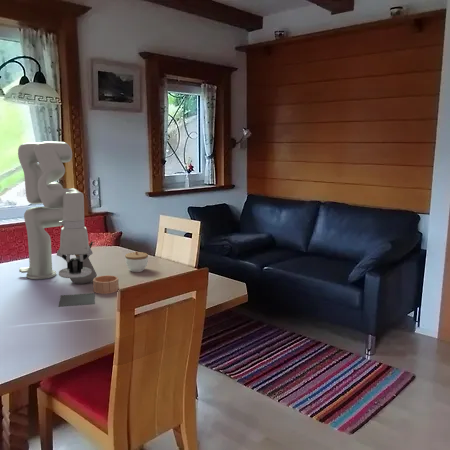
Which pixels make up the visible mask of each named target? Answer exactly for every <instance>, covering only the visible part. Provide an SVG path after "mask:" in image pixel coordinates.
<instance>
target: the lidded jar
mask: <svg viewBox="0 0 450 450" xmlns="http://www.w3.org/2000/svg"><path fill="white" fill-rule="evenodd" d="M124 259H125V264H126V266H127V267H126V268H127V269H129V271H130V272H132V273H133V272H134V273H139V272H143V271H144V270H145V268H146V267H147V266H148V263H149V262H148V260H149V254H148V253H146V252H142V251H141V252H140V251H137V250H135V252H128V253H126V254H125V258H124Z"/></svg>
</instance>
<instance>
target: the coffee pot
mask: <svg viewBox="0 0 450 450" xmlns="http://www.w3.org/2000/svg"><path fill="white" fill-rule="evenodd" d="M94 245H96V243H95V242H94V241H91V242H89V247H90V249H91V248H92V246H94ZM91 250H92V249H91ZM83 255H84V254H83ZM74 256H75V258H79V259H80V255H74ZM83 267H86V268H89V269H91V270H92V273H91V274H90V275H89V276H86V277H82V278H69V279H70V280H71V282H73V284H76V285H85V284H93V279H94V278H96V277H98V275H97V272H96V270H95V269H94V266H93V264H92V261H91V259H90V256H88V257H87V258H86V259H85V260H83Z"/></svg>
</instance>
